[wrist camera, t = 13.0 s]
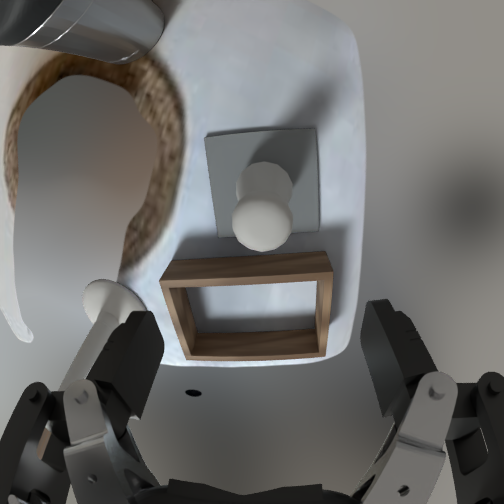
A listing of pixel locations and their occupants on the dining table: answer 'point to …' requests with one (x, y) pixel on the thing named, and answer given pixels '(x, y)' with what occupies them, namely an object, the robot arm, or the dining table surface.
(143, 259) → the dining table surface
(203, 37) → the dining table surface
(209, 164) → the grey mat
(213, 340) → the frame
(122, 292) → the candlestick
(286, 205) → the salt shaker
